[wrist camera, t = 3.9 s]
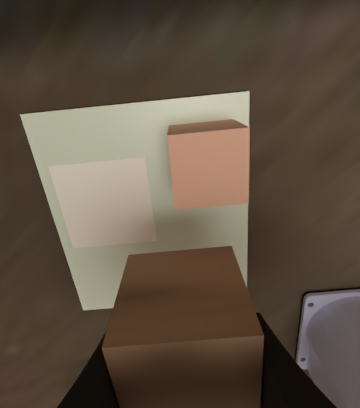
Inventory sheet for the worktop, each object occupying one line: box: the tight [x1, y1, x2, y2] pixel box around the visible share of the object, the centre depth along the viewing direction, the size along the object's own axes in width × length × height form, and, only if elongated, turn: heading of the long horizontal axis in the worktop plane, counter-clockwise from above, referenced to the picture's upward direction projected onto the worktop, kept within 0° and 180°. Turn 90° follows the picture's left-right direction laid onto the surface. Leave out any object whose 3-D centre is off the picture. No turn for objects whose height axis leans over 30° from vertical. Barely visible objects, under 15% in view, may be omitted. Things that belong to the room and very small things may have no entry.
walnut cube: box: [102, 246, 264, 408], centre depth 11 cm, size 5×5×5 cm
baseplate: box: [20, 91, 249, 310], centre depth 19 cm, size 16×14×1 cm
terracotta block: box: [167, 119, 250, 210], centre depth 15 cm, size 4×4×4 cm
